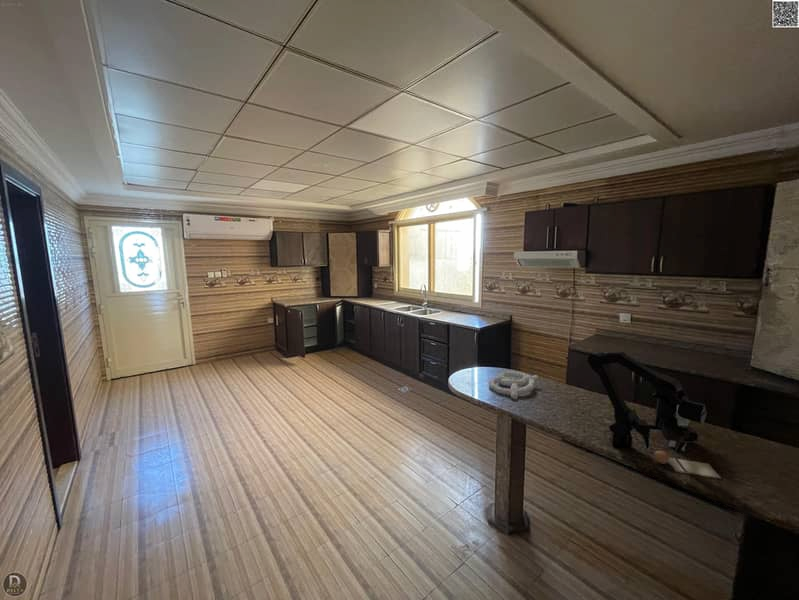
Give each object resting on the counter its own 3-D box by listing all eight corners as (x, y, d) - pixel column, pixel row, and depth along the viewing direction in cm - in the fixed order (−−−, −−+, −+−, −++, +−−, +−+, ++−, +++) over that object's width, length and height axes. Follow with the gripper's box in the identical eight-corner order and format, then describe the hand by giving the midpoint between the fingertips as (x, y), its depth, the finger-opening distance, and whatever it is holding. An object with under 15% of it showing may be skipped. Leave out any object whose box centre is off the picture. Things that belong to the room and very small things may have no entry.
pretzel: (520, 405, 173) (519, 394, 172) (482, 392, 191) (481, 382, 189) (544, 384, 190) (544, 374, 189) (508, 374, 208) (507, 365, 207)
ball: (655, 464, 122) (657, 454, 121) (651, 457, 126) (652, 447, 125) (670, 467, 121) (671, 456, 120) (665, 460, 125) (666, 449, 124)
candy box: (667, 431, 144) (671, 396, 141) (684, 436, 140) (689, 400, 138) (667, 446, 133) (671, 408, 131) (686, 451, 130) (691, 413, 127)
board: (675, 471, 118) (675, 469, 118) (666, 458, 126) (666, 456, 126) (720, 479, 114) (721, 477, 114) (708, 465, 121) (708, 463, 121)
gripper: (644, 418, 116) (640, 458, 118) (710, 427, 110) (704, 469, 112) (633, 404, 126) (629, 441, 129) (693, 411, 120) (687, 450, 123)
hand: (661, 450), depth 123 cm, fingers open, 9 cm apart
